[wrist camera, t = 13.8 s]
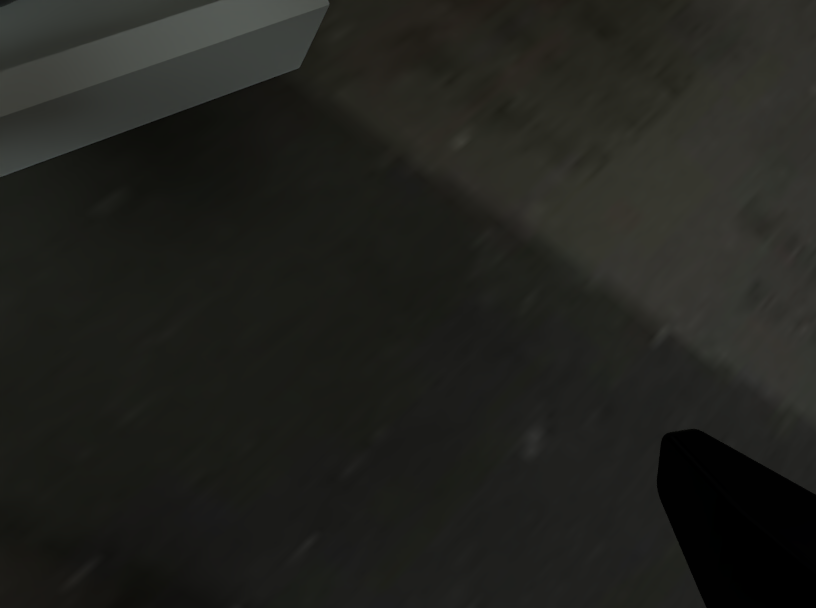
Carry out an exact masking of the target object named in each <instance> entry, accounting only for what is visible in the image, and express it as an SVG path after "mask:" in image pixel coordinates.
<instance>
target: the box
mask: <svg viewBox="0 0 816 608" xmlns="http://www.w3.org/2000/svg"><path fill="white" fill-rule="evenodd" d="M329 5H330V4H329V1H328V0H17V1H14V2H12V3H10V4H8V5H6V6H3V7H0V177H2V176H5V175H7V174H10V173H13V172H16V171H18V170H21V169H24V168H27V167H29V166H32V165H35V164H38V163H40V162H43V161H46V160H48V159H51V158H54V157H57V156H59V155H62V154H65V153H68V152H70V151H73V150H76V149H79V148H81V147H84V146H87V145H90V144H92V143H95V142H98V141H101V140H103V139H106V138H109V137H112V136H114V135H117V134H120V133H123V132H125V131H128V130H131V129H133V128H136V127H139V126H142V125H144V124H147V123H150V122H153V121H155V120H158V119H161V118H164V117H166V116H169V115H172V114H175V113H177V112H180V111H183V110H186V109H188V108H191V107H194V106H197V105H199V104H202V103H205V102H208V101H210V100H213V99H216V98H218V97H221V96H224V95H227V94H229V93H232V92H235V91H238V90H240V89H243V88H246V87H249V86H251V85H254V84H257V83H260V82H262V81H265V80H268V79H271V78H273V77H276V76H279V75H282V74H284V73H287V72H290V71H293V70H295V69H298V68H300V66H301V64H302V62H303V60H304V58H305V55H306V53H307V51H308V49H309V47H310V45H311V43H312V41H313V39H314V37H315V35H316V32H317V30H318V28H319V26H320V24H321V22H322V20H323V18H324V16H325V14H326V11H327V9H328V7H329Z"/></svg>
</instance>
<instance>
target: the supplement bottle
mask: <svg viewBox="0 0 816 608" xmlns="http://www.w3.org/2000/svg"><path fill="white" fill-rule="evenodd" d="M14 1H17V0H0V7H3V6H6V5H8V4H10V3H12V2H14Z"/></svg>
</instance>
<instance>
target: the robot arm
mask: <svg viewBox="0 0 816 608" xmlns="http://www.w3.org/2000/svg"><path fill="white" fill-rule="evenodd" d="M657 488H658V493H659V497H660V500H661V502H662V505H663V507H664V509H665V512H666V514H667V516H668V519H669V521H670V523H671V526H672V528H673V531H674V533H675V535H676V538H677V540H678V542H679V545H680V547H681V549H682V552H683V554H684V556H685V559H686V561H687V564H688V566H689V568H690V571H691V573H692V575H693V578H694V580H695V582H696V585H697V587H698V589H699V592H700V594H701V596H702V599H703V601H704V603H705V605H706V607H707V608H816V495H815V494H814V493H812V492H810V491H808V490H806V489H805V488H803V487H801V486H799V485H797V484H796V483H794V482H792V481H790V480H788V479H787V478H785V477H783V476H781V475H780V474H778V473H776V472H774V471H772V470H771V469H769V468H767V467H765V466H763V465H762V464H760V463H758V462H756V461H754V460H753V459H751V458H749V457H747V456H746V455H744V454H742V453H740V452H738V451H737V450H735V449H733V448H731V447H729V446H728V445H726V444H724V443H722V442H720V441H719V440H717V439H715V438H713V437H712V436H710V435H708V434H706V433H704V432H702V431H700V430H697V429H688V430H681V431H675V432H669V433H667V434H665V435H664V436H663V438H662V441H661V447H660V456H659V466H658V475H657Z"/></svg>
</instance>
